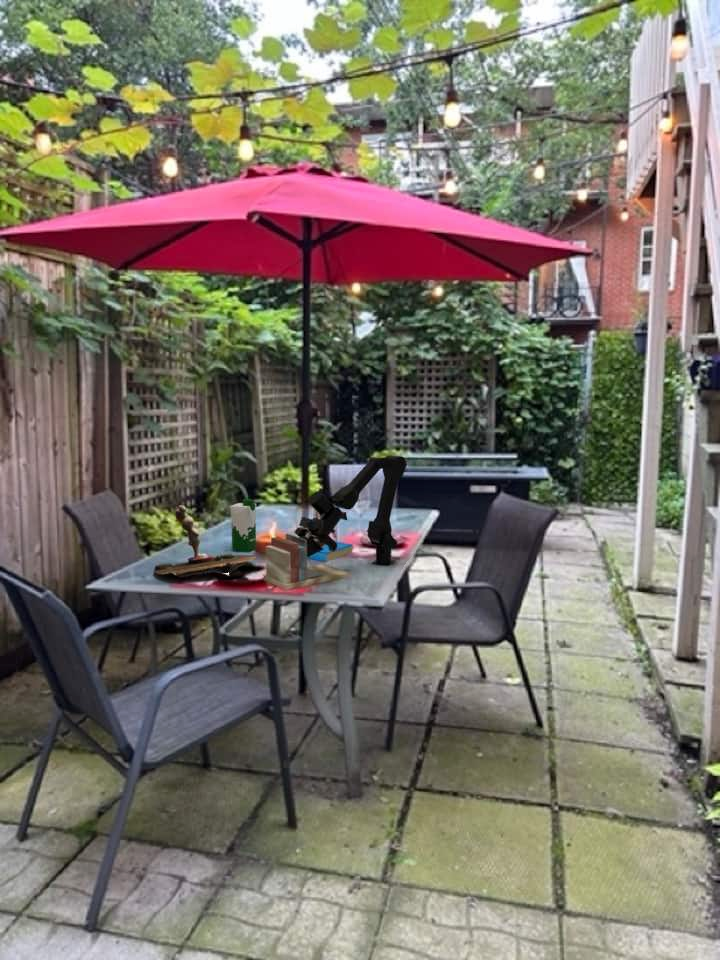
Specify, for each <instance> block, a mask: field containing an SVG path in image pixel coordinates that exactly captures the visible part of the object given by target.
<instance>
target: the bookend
mask: <svg viewBox="0 0 720 960" xmlns="http://www.w3.org/2000/svg"><path fill="white" fill-rule="evenodd" d="M285 539H286V540H289V541H292V542H295V543H298V545H301V546H303V547H305V552H306V579H310V578H315V577H320V576H323V574H321V573H318V572H316V571H313V570H311V569H308V568H307V567H308V558H307V540H306V539H303V538H300V537H299V536H297V535H293V534H289V533H285Z"/></svg>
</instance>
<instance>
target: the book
mask: <svg viewBox="0 0 720 960" xmlns="http://www.w3.org/2000/svg"><path fill="white" fill-rule="evenodd" d="M334 541H335V540H334ZM335 542H336V543H337V549H336V550H335V552H332V551H330V550H329V547H328V546H327V545H324V547H323V549H324V550H323V551H322V550H321V551H319V552H317V553H315V554H313V555H311V556H310V557H308V558H307V560H308V559H309V560H314V561H321V562H325V563H327V562H330V561H332V560H335V559H339V558H342V557H345V556H348V555H351V554H353V546H354V545H353V544H352V543H347V542H342V541H335Z"/></svg>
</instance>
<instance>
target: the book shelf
mask: <svg viewBox="0 0 720 960" xmlns="http://www.w3.org/2000/svg"><path fill="white" fill-rule="evenodd" d="M270 541H271V542H270V544H271V545H266V546H265V565H266V567H265V572H266V574H263V575H262V580H263V581H265V582H267V583H269V584H272V585H275V586H277V587H279V588H280V589H283V590H285V591H289V590H293V589H299V588H303V587H307V586H313V585H318V584H323V583H327V582H331V581H336V580H341V579H347V578H349V577H350V572H348V571H345V570H342V569H340V568H337V567H334V566H331V565H329V564H326V563H321V564H315V565H310V566H307V568H308V569H311V570H313V571H316V572H318V573H321V574H323V576H320V577H315V578H310V579H306V552H305V547H303V546H301V545H298V543H295V542H292V541H289V540H286V538H283V537H280V536H275V537H271V538H270ZM263 576H264V577H263Z"/></svg>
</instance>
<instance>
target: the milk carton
mask: <svg viewBox="0 0 720 960" xmlns="http://www.w3.org/2000/svg"><path fill="white" fill-rule="evenodd" d="M229 509H230V517H231V522H230V523H231V524H230V525H231V550H232V552H239V553H250V552H252V551H254V550H256V549H257V545H256V546H255V542H256V543H257V527H256V526H257V524H256V523H257V521H256V512H257V503H254V499H252V498H246V499H245V498H244V499H242V502H237V503H236V504H233V505H229Z"/></svg>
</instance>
